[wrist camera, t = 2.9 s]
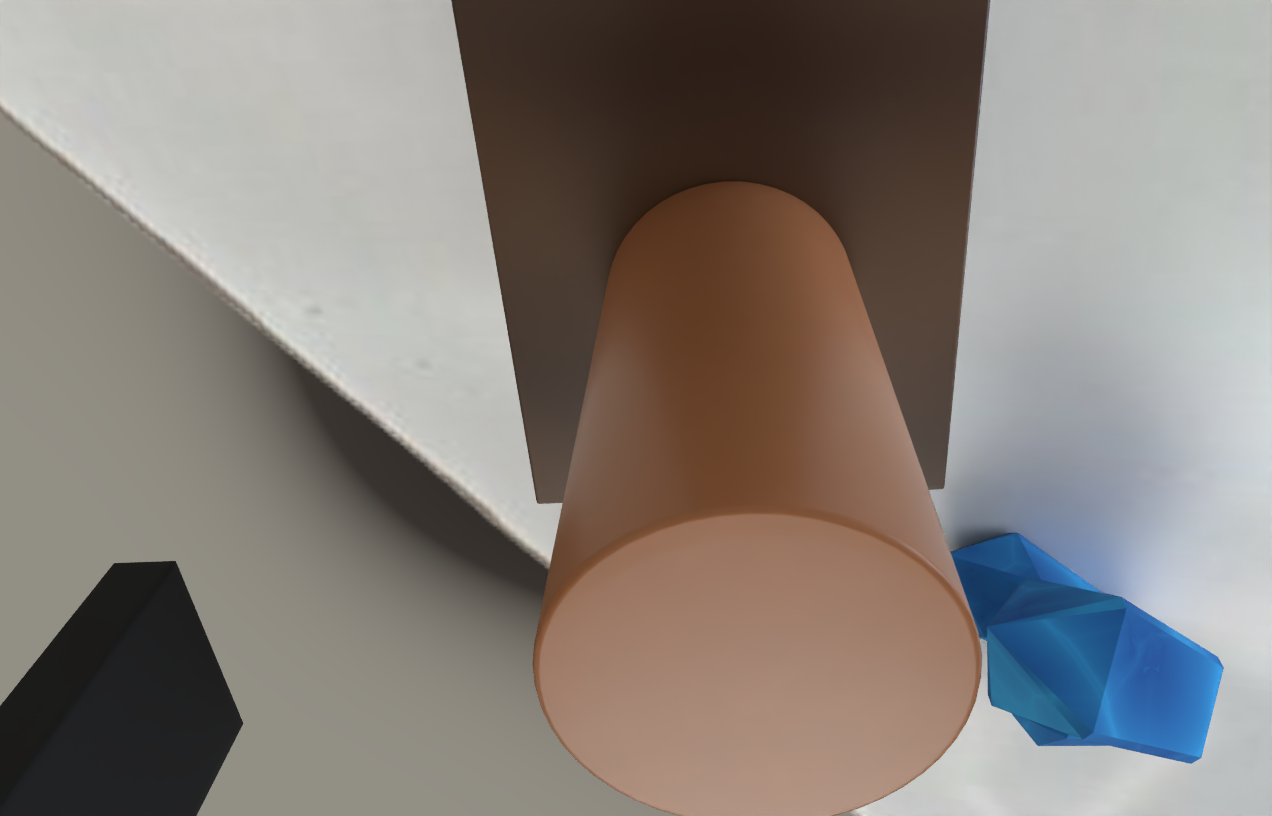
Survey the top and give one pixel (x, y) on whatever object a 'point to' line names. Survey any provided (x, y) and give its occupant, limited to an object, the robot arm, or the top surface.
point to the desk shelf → (724, 166)
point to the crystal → (1084, 657)
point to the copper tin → (748, 532)
